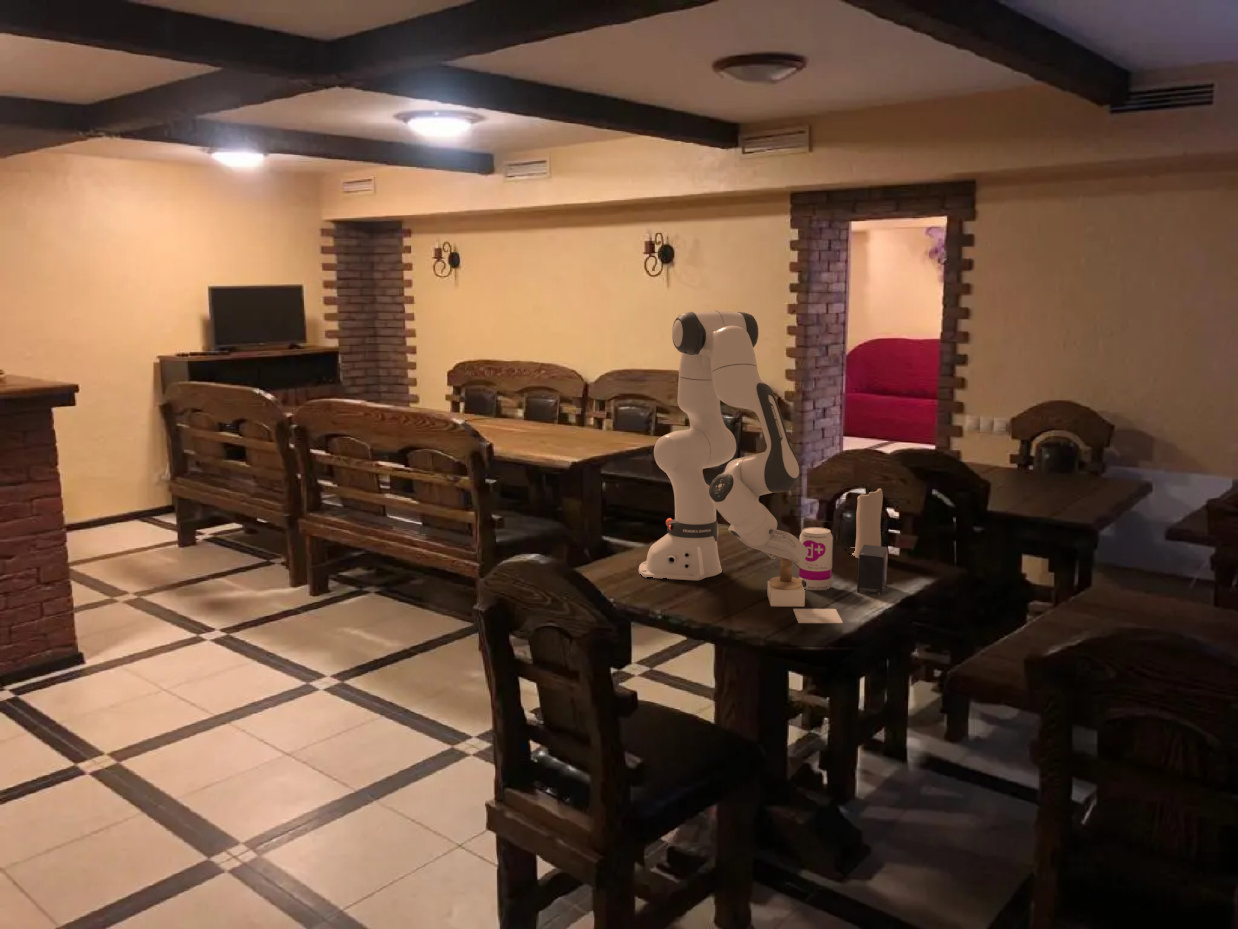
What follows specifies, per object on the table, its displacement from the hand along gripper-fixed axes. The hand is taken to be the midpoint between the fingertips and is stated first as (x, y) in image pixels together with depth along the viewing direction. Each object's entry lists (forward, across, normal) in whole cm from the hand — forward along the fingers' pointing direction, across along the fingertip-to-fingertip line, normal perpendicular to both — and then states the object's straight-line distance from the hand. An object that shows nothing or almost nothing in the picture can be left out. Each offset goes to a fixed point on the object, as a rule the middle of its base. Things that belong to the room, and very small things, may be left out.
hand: (788, 560), depth 239 cm
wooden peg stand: (+4, 0, +5) cm, 6 cm away
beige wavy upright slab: (+42, +22, -26) cm, 54 cm away
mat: (+6, -12, +9) cm, 16 cm away
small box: (+25, -4, -10) cm, 27 cm away
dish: (+7, 0, +8) cm, 11 cm away
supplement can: (+18, +6, -2) cm, 19 cm away
